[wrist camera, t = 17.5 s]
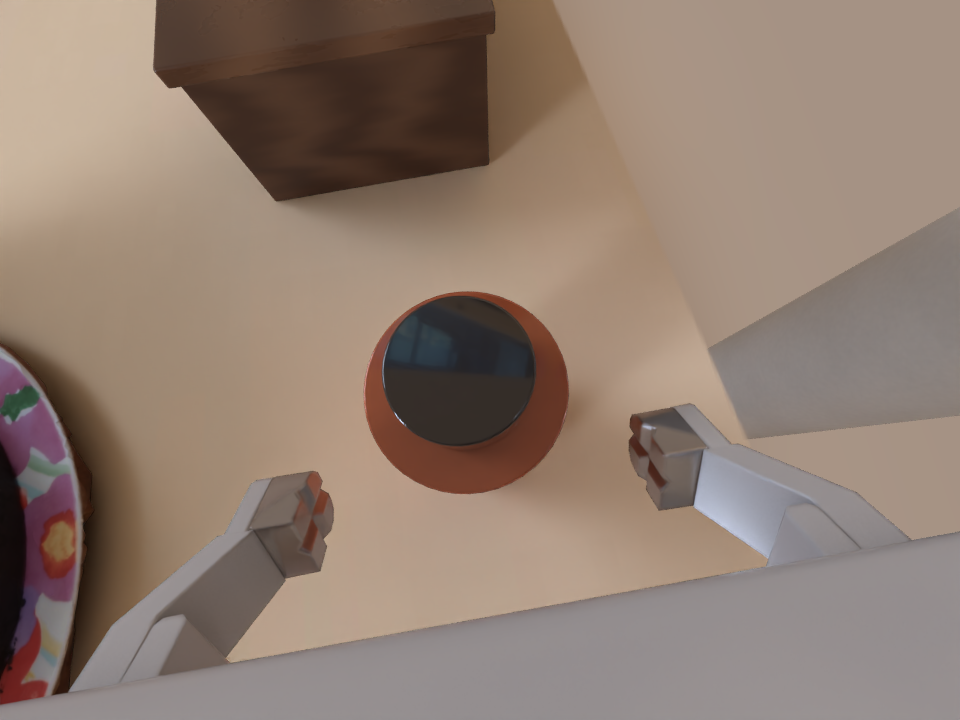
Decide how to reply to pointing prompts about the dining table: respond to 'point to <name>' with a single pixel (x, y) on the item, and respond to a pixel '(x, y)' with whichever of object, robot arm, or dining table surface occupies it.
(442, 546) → the dining table surface
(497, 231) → the dining table surface
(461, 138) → the dark brown wooden box
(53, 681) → the chocolate cake
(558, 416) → the orange bottle
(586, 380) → the dining table surface
